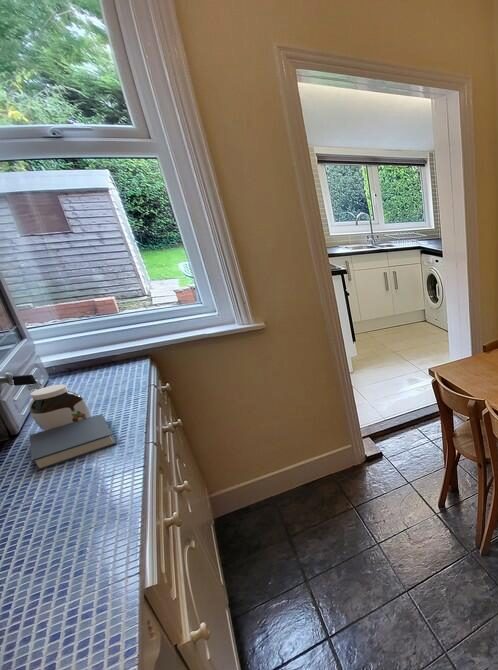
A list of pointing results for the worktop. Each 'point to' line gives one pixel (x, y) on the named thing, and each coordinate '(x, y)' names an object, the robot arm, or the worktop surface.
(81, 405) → the spread jar
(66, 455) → the book
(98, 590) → the worktop surface
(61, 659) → the worktop surface
